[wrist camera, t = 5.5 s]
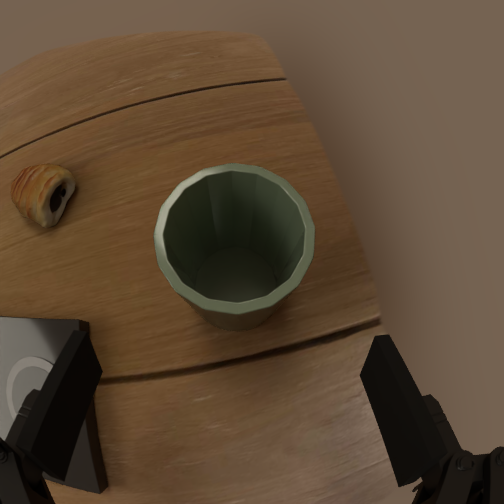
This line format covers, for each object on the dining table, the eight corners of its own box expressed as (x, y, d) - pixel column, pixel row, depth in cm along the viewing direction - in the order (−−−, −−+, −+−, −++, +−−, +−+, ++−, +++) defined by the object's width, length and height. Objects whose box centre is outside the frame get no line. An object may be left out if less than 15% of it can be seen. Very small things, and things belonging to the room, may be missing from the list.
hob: (89, 322, 23) (77, 318, 21) (108, 486, 18) (99, 495, 16) (-36, 314, 22) (-48, 311, 20) (-25, 441, 17) (-36, 443, 14)
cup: (295, 272, 26) (338, 207, 14) (251, 348, 23) (265, 345, 12) (221, 230, 26) (211, 143, 15) (174, 301, 24) (124, 257, 13)
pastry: (8, 210, 26) (-9, 195, 23) (36, 163, 28) (21, 146, 25) (54, 234, 26) (35, 218, 22) (85, 179, 28) (71, 159, 24)
